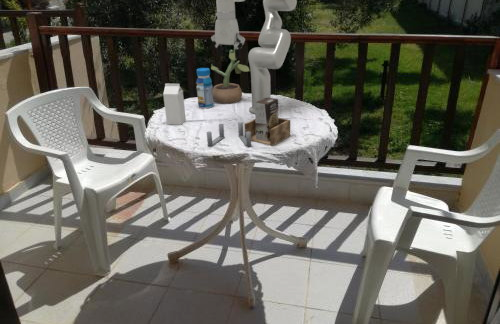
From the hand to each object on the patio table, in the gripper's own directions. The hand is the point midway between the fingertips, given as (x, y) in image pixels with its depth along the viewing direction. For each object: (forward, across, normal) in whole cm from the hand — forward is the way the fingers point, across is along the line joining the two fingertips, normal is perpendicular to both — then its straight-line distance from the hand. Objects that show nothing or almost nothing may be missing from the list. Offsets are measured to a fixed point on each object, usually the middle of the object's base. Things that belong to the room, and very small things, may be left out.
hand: (228, 57), depth 184 cm
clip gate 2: (+31, +16, -13) cm, 37 cm away
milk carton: (+32, -27, -9) cm, 43 cm away
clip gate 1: (+31, +5, -20) cm, 37 cm away
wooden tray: (+32, +22, -6) cm, 39 cm away
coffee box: (+31, +22, -6) cm, 39 cm away
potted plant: (+32, -25, +33) cm, 53 cm away
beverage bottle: (+32, -31, +18) cm, 48 cm away
